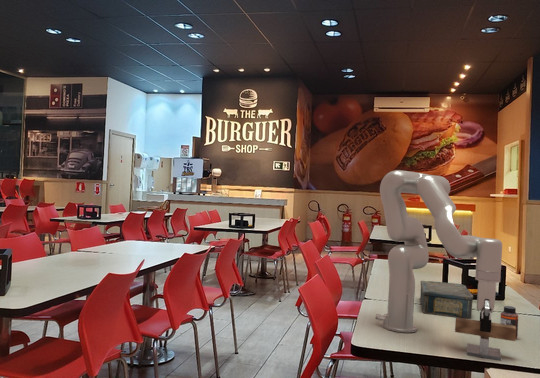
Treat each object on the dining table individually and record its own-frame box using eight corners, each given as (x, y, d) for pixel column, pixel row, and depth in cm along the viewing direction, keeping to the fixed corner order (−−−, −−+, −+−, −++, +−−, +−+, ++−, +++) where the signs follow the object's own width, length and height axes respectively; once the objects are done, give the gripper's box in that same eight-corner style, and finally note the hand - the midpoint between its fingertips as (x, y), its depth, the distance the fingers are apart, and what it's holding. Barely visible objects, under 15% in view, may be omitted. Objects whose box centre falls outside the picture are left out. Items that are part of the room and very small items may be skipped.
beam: (454, 331, 163) (455, 319, 163) (455, 329, 166) (456, 317, 166) (515, 341, 156) (516, 328, 156) (514, 338, 159) (515, 325, 159)
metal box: (420, 314, 212) (422, 291, 212) (418, 299, 244) (419, 279, 244) (473, 320, 207) (474, 296, 207) (464, 304, 238) (465, 283, 238)
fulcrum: (466, 354, 158) (467, 336, 158) (467, 346, 167) (468, 329, 167) (501, 360, 154) (502, 341, 154) (499, 351, 163) (500, 333, 163)
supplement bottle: (512, 335, 185) (513, 305, 185) (520, 340, 179) (522, 309, 179) (496, 334, 185) (498, 304, 185) (504, 339, 179) (506, 308, 179)
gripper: (475, 271, 170) (472, 320, 170) (475, 278, 154) (472, 332, 154) (499, 273, 167) (496, 324, 167) (501, 281, 151) (498, 336, 151)
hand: (484, 328), depth 161 cm, fingers open, 9 cm apart
